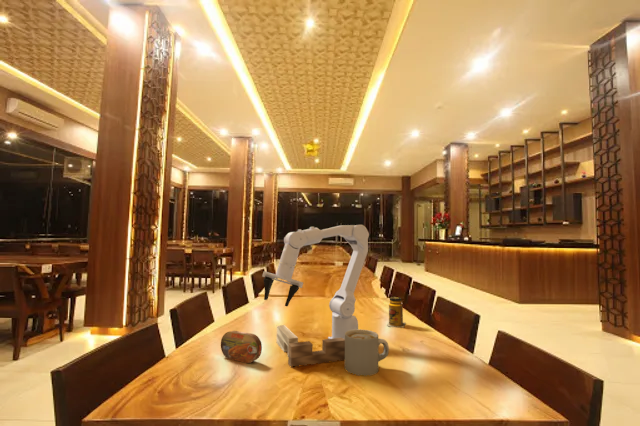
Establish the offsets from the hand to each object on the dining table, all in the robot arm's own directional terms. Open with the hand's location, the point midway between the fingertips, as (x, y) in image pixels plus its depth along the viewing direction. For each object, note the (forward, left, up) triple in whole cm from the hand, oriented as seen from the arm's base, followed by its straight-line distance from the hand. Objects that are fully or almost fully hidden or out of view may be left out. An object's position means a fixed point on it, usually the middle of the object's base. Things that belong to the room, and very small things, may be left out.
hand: (275, 302), depth 112 cm
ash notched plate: (-4, +1, -16) cm, 16 cm away
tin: (+12, +5, -16) cm, 21 cm away
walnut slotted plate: (-10, +15, -16) cm, 24 cm away
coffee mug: (-22, +25, -16) cm, 37 cm away
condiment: (-59, -13, -16) cm, 62 cm away
